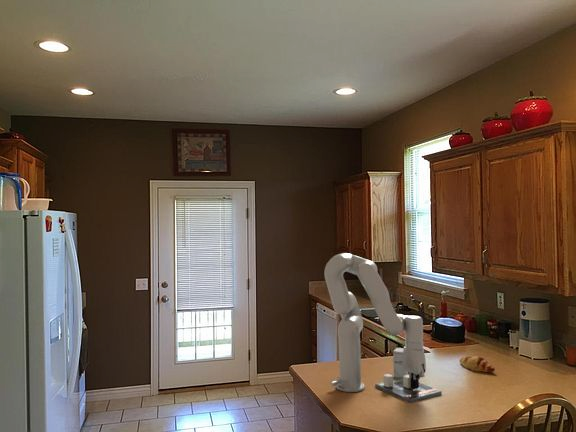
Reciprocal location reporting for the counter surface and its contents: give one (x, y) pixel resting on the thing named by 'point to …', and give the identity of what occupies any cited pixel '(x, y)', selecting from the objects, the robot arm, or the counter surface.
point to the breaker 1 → (388, 380)
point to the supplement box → (398, 363)
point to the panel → (409, 391)
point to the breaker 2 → (406, 381)
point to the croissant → (476, 364)
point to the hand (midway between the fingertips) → (414, 387)
